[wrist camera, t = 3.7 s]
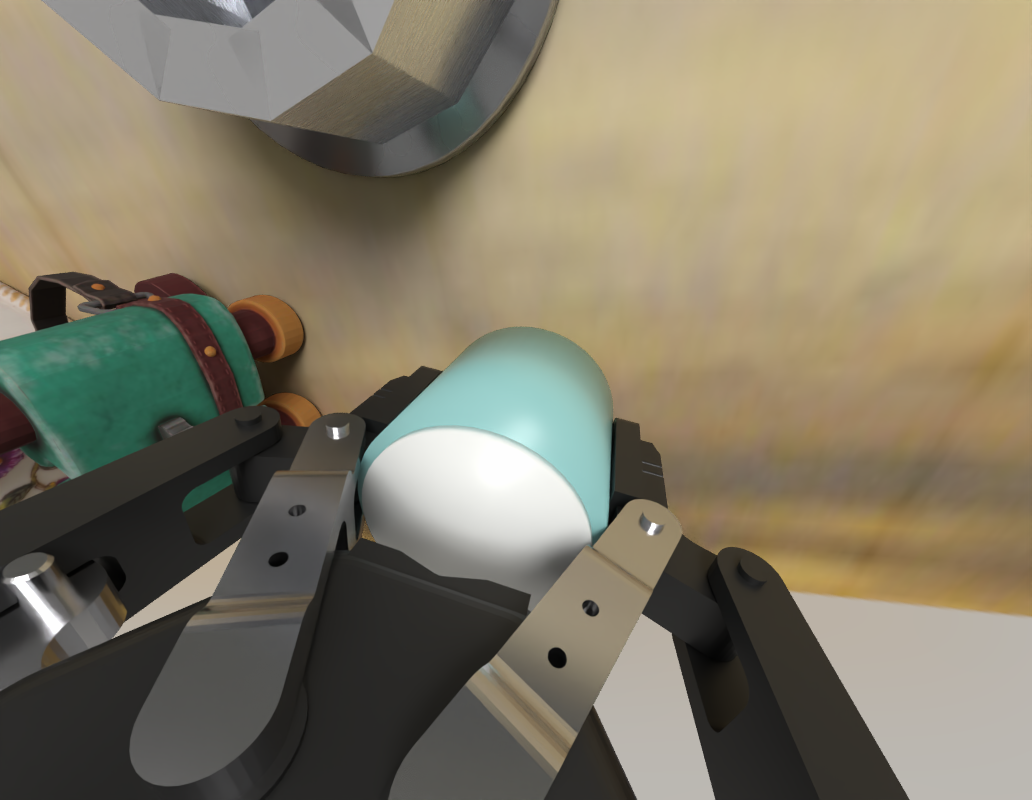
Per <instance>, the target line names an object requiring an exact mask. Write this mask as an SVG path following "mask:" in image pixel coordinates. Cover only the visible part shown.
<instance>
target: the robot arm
mask: <svg viewBox="0 0 1032 800" xmlns="http://www.w3.org/2000/svg"><path fill="white" fill-rule="evenodd" d="M442 372H443V371H440V370H436V369H432V368H429V367H425V366H421V367H420V368H419V369H418V370H416V371H415V372H414V373H413V374H412V375H411V376H409V377H407V376H402V377H399V378H396V379H393V380H391V381H389V382H388V383H387V384H385V385H384V386H383V387H382V388H381V390H380V389H379V390H378V391H377V392H376V393H374V395H372V396H371V397H369V398H368V399H367V400H366V401H364V402H363V403H362V404H361V405H359V406H358V407H357V408H356V409H354V410H353V411H352V412H351V413H332V414H328V415H324V416H322V417H319V418H317V419H316V420H314V421H313V422H312V423H311V425H310V426H309V427H304V426H289V425H281V420H280V414H279V413H278V412H277V411H276V410H275V409H273V408H270V407H266V406H246V407H241V408H237V409H234V410H231V411H229V412H226V413H224V414H222V415H219V416H217V417H215V418H213V419H210V420H208V421H206V422H203V423H201V424H199V425H196V426H194V427H192V428H189V429H187V430H185V431H182V432H180V433H178V434H176V435H173V436H171V437H169V438H166V439H164V440H162V441H159V442H157V443H155V444H152V445H150V446H148V447H145V448H143V449H141V450H139V451H136V452H134V453H132V454H129V455H127V456H125V457H122V458H120V459H118V460H115V461H113V462H111V463H108V464H106V465H104V466H101V467H99V468H97V469H95V470H92V471H90V472H88V473H85V474H83V475H81V476H78V477H76V478H74V479H71V480H69V481H67V482H64V483H62V484H60V485H58V486H55V487H53V488H51V489H48V490H46V491H44V492H41V493H39V494H37V495H34V496H32V497H30V498H27V499H25V500H23V501H21V502H18V503H16V504H14V505H11V506H9V507H7V508H4V509H2V510H0V800H637V798H636V796H635V794H634V792H633V790H632V788H631V785H630V783H629V781H628V779H627V777H626V775H625V772H624V770H623V768H622V766H621V764H620V762H619V759H618V757H617V755H616V753H615V751H614V749H613V747H612V744H611V742H610V740H609V738H608V736H607V734H606V731H605V729H604V727H603V725H602V723H601V721H600V718H599V716H598V714H597V712H596V710H595V708H594V706H593V704H594V702H595V700H596V699H597V697H598V695H599V693H600V691H601V689H602V687H603V685H604V683H605V681H606V679H607V678H608V676H609V674H610V672H611V670H612V668H613V666H614V664H615V662H616V661H617V659H618V657H619V655H620V653H621V651H622V649H623V647H624V645H625V644H626V641H627V640H628V638H629V636H630V634H631V632H632V630H633V628H634V626H635V624H636V623H637V621H638V619H639V617H640V615H641V613H642V614H643V615H645V616H647V617H648V618H650V619H651V620H653V621H654V622H656V623H657V624H659V625H660V626H662V627H663V628H665V629H666V630H668V631H669V632H671V633H672V637H673V641H674V645H675V649H676V653H677V657H678V660H679V664H680V667H681V672H682V675H683V679H684V683H685V687H686V690H687V694H688V698H689V702H690V705H691V709H692V713H693V717H694V720H695V724H696V728H697V732H698V736H699V739H700V743H701V746H702V751H703V754H704V758H705V762H706V766H707V769H708V773H709V777H710V781H711V785H712V788H713V792H714V796H715V800H909V798H908V796H907V795H906V793H905V791H904V789H903V788H902V786H901V784H900V782H899V781H898V779H897V777H896V775H895V774H894V772H893V770H892V769H891V767H890V765H889V763H888V762H887V760H886V758H885V756H884V755H883V753H882V751H881V750H880V748H879V746H878V744H877V743H876V741H875V739H874V738H873V736H872V734H871V732H870V731H869V729H868V727H867V725H866V724H865V722H864V720H863V718H862V717H861V715H860V713H859V712H858V710H857V708H856V706H855V705H854V703H853V701H852V699H851V698H850V696H849V694H848V693H847V691H846V689H845V687H844V686H843V684H842V682H841V680H840V679H839V677H838V675H837V674H836V672H835V670H834V668H833V667H832V665H831V663H830V662H829V660H828V658H827V656H826V655H825V653H824V651H823V649H822V648H821V646H820V644H819V642H818V641H817V639H816V637H815V636H814V634H813V632H812V630H811V629H810V627H809V625H808V623H807V622H806V620H805V619H804V617H803V615H802V613H801V611H800V610H799V608H798V606H797V604H796V603H795V601H794V599H793V598H792V596H791V594H790V592H789V591H788V589H787V587H786V585H785V584H784V582H783V580H782V579H781V577H780V576H779V574H778V573H777V572H776V571H775V569H774V568H773V567H772V566H771V565H769V564H768V563H767V562H766V561H765V560H763V559H762V558H760V557H759V556H757V555H755V554H754V553H752V552H750V551H747V550H744V549H741V548H736V547H727V548H724V549H722V550H721V551H720V552H719V553H718V555H715V554H713V553H711V552H709V551H708V550H706V549H704V548H702V547H700V546H699V545H697V544H695V543H693V542H692V541H690V540H689V539H687V538H686V537H685V536H684V535H683V534H682V527H681V525H680V522H679V521H678V519H677V518H676V517H675V515H674V514H673V513H672V512H671V511H669V510H668V506H667V499H666V492H665V485H664V478H663V471H662V468H661V467H662V464H661V457H660V454H659V452H658V451H657V450H656V448H655V447H654V445H653V444H652V443H649V442H645V441H642V440H640V426H639V424H638V423H634V422H630V421H627V420H623V419H619V418H615V420H614V422H613V428H612V450H611V473H610V495H609V518H608V528H607V529H606V531H605V532H604V533H603V534H602V536H601V537H600V538H599V539H598V541H597V542H596V543H595V544H594V546H593V547H592V546H590V545H587V546H585V547H584V548H583V550H582V551H581V552H580V553H579V554H578V556H577V557H576V558H575V559H574V560H573V562H572V563H571V564H570V565H569V567H568V568H567V569H566V570H565V571H564V573H563V574H562V575H561V576H560V577H559V579H558V580H557V581H556V582H555V584H554V585H553V586H552V587H551V588H550V590H549V591H548V592H547V593H546V595H545V596H544V597H543V598H542V599H541V601H540V602H539V603H538V604H537V605H536V607H535V608H534V609H533V610H532V612H531V611H530V610H528V606H529V602H530V597H531V594H528V593H525V592H522V591H519V590H516V589H513V588H510V587H507V586H504V585H501V584H498V583H495V582H492V581H489V580H483V579H471V578H460V577H448V576H440V575H437V574H435V573H433V572H432V571H430V570H429V569H427V568H426V567H424V566H423V565H421V564H420V563H418V562H417V561H415V560H414V559H412V558H411V557H409V556H408V555H406V554H405V553H403V552H402V551H400V550H397V549H394V548H391V547H388V546H385V545H382V544H379V543H376V542H373V541H370V540H367V539H364V538H362V533H363V527H364V522H365V516H364V514H363V512H362V508H361V505H360V501H359V495H358V475H359V471H360V467H361V461H362V458H363V456H364V453H365V452H366V450H367V449H368V447H369V446H370V444H371V443H372V442H373V441H374V439H375V438H376V437H377V436H378V435H379V434H380V433H381V432H382V431H383V430H384V429H385V428H386V427H387V426H388V425H389V424H390V423H391V422H392V421H393V420H394V419H395V418H396V417H397V416H398V415H399V414H400V413H401V412H402V411H403V410H404V409H406V408H407V407H408V406H409V405H410V404H411V403H412V402H413V401H414V400H415V399H416V398H417V397H418V396H419V395H420V394H421V393H422V392H423V391H424V390H425V389H426V388H427V387H428V386H429V385H430V384H431V383H432V382H433V381H434V380H435V379H436V378H437V377H438V376H439V375H440V374H441V373H442ZM227 470H229V473H230V477H231V480H232V484H231V485H229V486H227V487H226V488H224V489H222V490H220V491H219V492H217V493H215V494H214V495H212V496H210V497H209V498H207V499H205V500H204V501H202V502H200V503H198V504H197V505H195V506H193V507H192V508H190V509H188V510H187V511H185V512H183V510H182V503H183V501H184V499H185V497H186V496H187V495H188V494H189V493H190V492H191V491H192V490H193V489H195V488H196V487H198V486H200V485H202V484H204V483H205V482H207V481H209V480H211V479H213V478H214V477H216V476H218V475H220V474H222V473H223V472H225V471H227ZM240 538H241V540H240V542H239V544H238V546H237V548H236V550H235V552H234V554H233V556H232V558H231V560H230V562H229V564H228V566H227V568H226V570H225V572H224V574H223V576H222V578H221V580H220V582H219V584H218V586H217V588H216V590H215V592H214V593H213V596H211V597H208V598H206V599H204V600H201V601H199V602H197V603H195V604H192V605H190V606H188V607H185V608H183V609H181V610H178V611H176V612H174V613H171V614H169V615H166V616H164V617H162V618H160V619H157V620H155V621H153V622H150V623H148V624H145V625H143V626H141V627H139V628H136V629H134V630H132V631H129V632H127V633H124V634H122V635H120V636H118V637H115V638H113V637H114V636H115V634H116V633H117V632H118V631H119V629H120V628H121V626H122V624H123V623H124V622H125V621H127V620H128V619H129V618H131V617H132V616H133V615H135V614H136V613H137V612H139V611H140V610H142V609H143V608H145V607H146V606H147V605H149V604H150V603H151V602H153V601H154V600H156V599H157V598H158V597H160V596H161V595H163V594H164V593H165V592H167V591H168V590H169V589H171V588H172V587H173V586H175V585H176V584H178V583H179V582H181V581H182V580H183V579H185V578H186V577H188V576H189V575H190V574H192V573H193V572H195V571H196V570H197V569H199V568H200V567H201V566H203V565H204V564H206V563H207V562H208V561H210V560H211V559H213V558H214V557H215V556H217V555H218V554H219V553H221V552H222V551H224V550H225V549H226V548H228V547H229V546H230V545H232V544H233V543H235V542H236V541H238V540H239V539H240ZM112 638H113V639H112Z"/></svg>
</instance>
